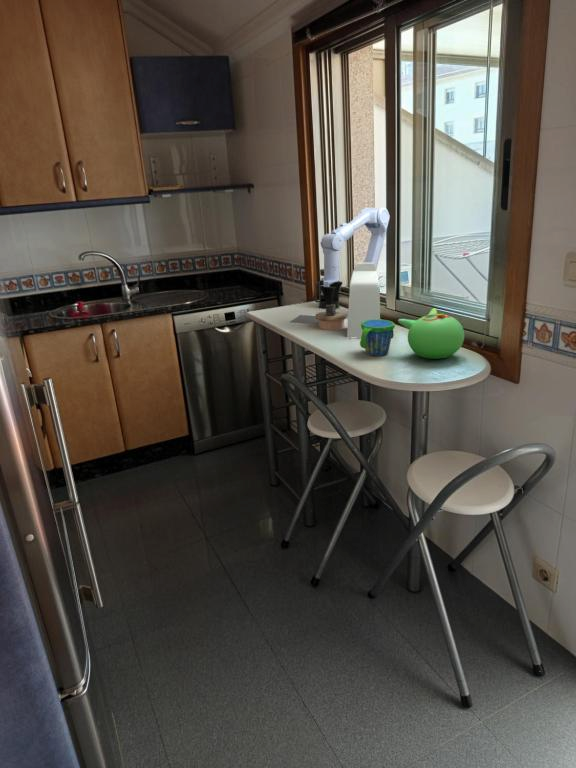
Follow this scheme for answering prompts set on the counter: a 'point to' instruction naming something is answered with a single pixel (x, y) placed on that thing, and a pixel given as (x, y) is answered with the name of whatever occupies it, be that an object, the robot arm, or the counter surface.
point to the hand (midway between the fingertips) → (331, 302)
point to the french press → (322, 301)
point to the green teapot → (434, 335)
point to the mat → (305, 319)
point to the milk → (363, 298)
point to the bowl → (331, 325)
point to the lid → (330, 314)
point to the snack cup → (377, 336)
